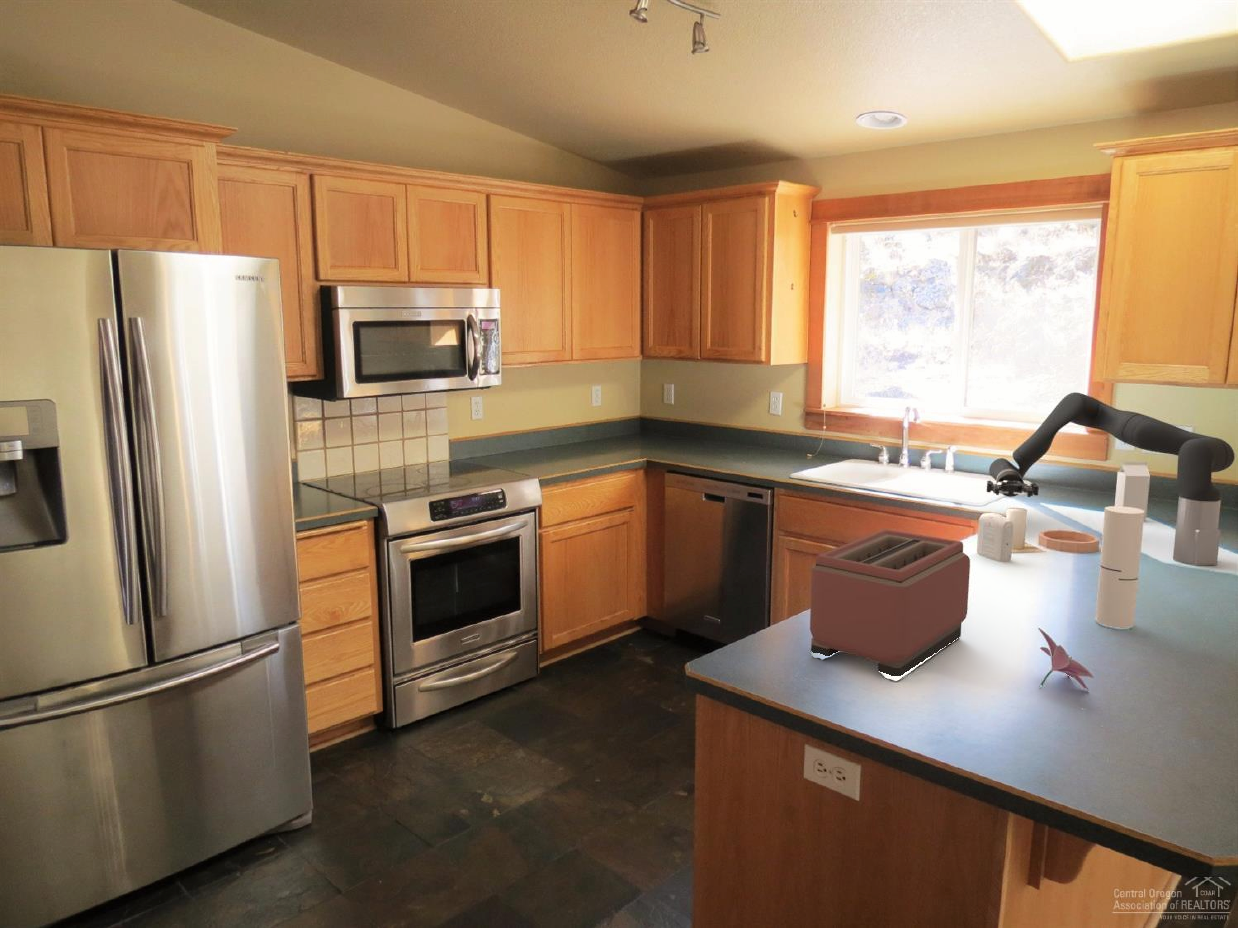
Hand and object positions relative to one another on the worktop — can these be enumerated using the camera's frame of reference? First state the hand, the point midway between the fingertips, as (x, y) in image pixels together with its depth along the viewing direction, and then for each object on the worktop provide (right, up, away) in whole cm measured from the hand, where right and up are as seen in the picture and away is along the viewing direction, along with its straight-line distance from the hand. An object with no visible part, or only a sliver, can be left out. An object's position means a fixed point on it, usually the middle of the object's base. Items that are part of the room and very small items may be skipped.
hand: (1013, 492), depth 250 cm
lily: (-38, -31, -100) cm, 111 cm away
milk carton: (+50, -10, +25) cm, 57 cm away
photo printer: (-14, -18, -18) cm, 29 cm away
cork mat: (-4, -16, -8) cm, 18 cm away
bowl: (+12, -15, -7) cm, 21 cm away
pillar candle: (-4, -15, -8) cm, 18 cm away
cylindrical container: (-11, -26, -69) cm, 75 cm away
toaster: (-62, -28, -79) cm, 104 cm away
